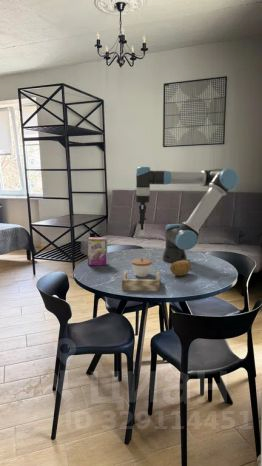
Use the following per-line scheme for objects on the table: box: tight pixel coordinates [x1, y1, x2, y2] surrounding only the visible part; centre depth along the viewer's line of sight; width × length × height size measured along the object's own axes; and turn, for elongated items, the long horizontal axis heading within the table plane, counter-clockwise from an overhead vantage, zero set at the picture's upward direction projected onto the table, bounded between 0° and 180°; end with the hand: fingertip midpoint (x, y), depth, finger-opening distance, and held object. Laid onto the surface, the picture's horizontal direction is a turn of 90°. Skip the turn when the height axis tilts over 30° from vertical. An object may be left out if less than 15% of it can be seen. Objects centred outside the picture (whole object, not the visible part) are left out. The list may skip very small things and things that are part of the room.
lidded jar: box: [131, 257, 153, 278], centre depth 171 cm, size 11×11×9 cm
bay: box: [121, 270, 160, 292], centre depth 156 cm, size 17×15×5 cm
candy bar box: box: [87, 236, 108, 267], centre depth 191 cm, size 11×5×16 cm, turn 84°
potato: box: [169, 259, 192, 277], centre depth 171 cm, size 10×14×8 cm
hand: (142, 233), depth 181 cm, fingers open, 12 cm apart
